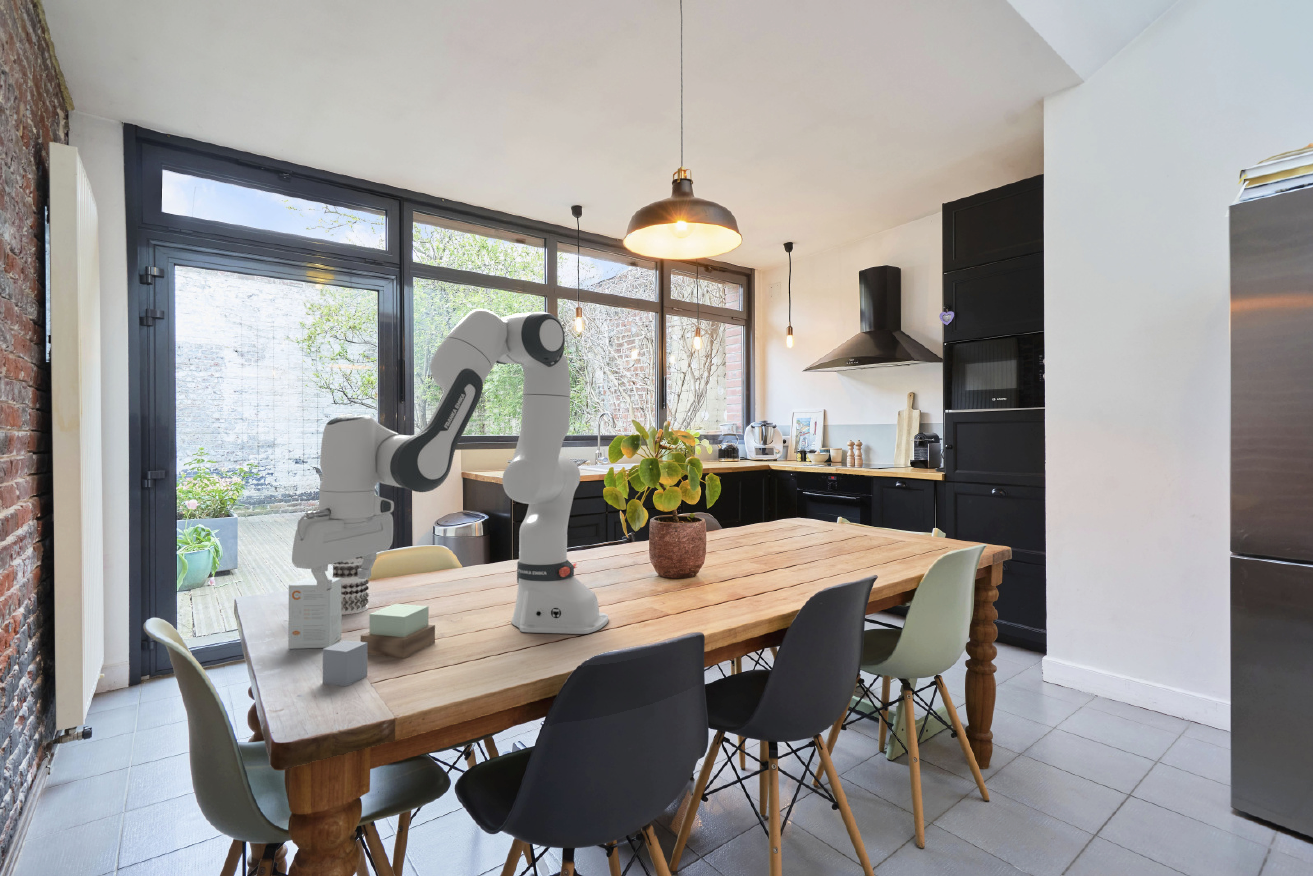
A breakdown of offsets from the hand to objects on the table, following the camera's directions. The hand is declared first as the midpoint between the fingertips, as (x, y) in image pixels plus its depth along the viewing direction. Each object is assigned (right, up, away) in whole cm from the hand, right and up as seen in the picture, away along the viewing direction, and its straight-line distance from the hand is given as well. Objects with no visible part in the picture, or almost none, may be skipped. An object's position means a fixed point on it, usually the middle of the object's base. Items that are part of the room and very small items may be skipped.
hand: (345, 584), depth 109 cm
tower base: (+3, -17, +17) cm, 24 cm away
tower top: (+3, -13, +17) cm, 22 cm away
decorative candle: (-21, -17, +44) cm, 52 cm away
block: (0, -17, 0) cm, 17 cm away
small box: (-16, -17, +19) cm, 30 cm away
